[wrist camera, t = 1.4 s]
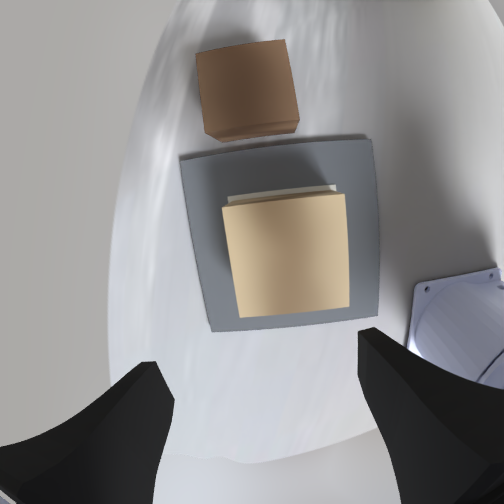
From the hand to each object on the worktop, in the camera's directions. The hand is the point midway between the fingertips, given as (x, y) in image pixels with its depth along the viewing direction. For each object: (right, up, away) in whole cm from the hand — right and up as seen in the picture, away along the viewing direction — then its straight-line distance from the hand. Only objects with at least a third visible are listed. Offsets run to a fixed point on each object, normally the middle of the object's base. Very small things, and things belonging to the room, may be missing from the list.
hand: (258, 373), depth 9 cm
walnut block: (0, +13, +7) cm, 15 cm away
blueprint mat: (+2, +5, +9) cm, 10 cm away
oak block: (+2, +5, +8) cm, 10 cm away
